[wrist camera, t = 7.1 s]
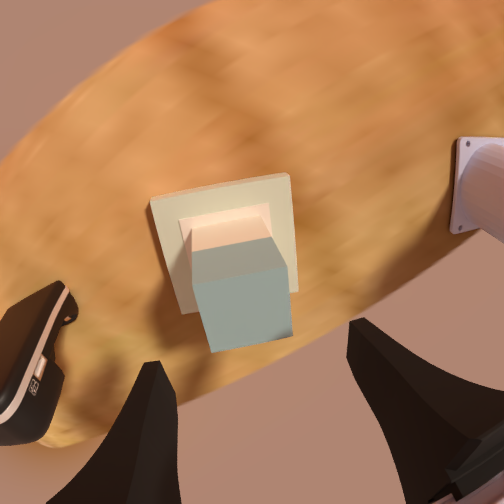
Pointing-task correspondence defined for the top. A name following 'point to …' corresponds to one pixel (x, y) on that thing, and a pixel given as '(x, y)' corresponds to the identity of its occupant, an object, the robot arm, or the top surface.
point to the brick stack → (240, 284)
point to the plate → (222, 210)
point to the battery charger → (32, 363)
